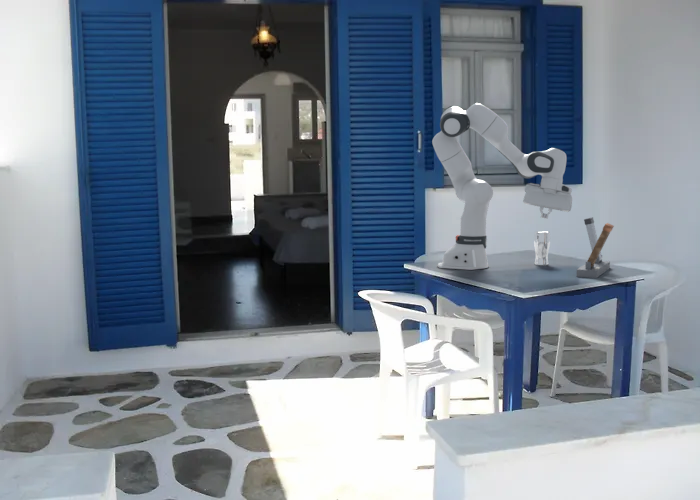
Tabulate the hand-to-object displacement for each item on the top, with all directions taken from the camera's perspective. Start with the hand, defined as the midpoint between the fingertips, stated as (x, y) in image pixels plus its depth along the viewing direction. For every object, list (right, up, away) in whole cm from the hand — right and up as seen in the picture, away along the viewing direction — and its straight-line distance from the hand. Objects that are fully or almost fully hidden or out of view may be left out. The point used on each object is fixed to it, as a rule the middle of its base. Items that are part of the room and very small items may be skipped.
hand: (544, 217), depth 319 cm
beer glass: (+4, -21, +21) cm, 30 cm away
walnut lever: (+16, -21, -10) cm, 28 cm away
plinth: (+21, -23, -2) cm, 31 cm away
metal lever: (+25, -19, +5) cm, 32 cm away
